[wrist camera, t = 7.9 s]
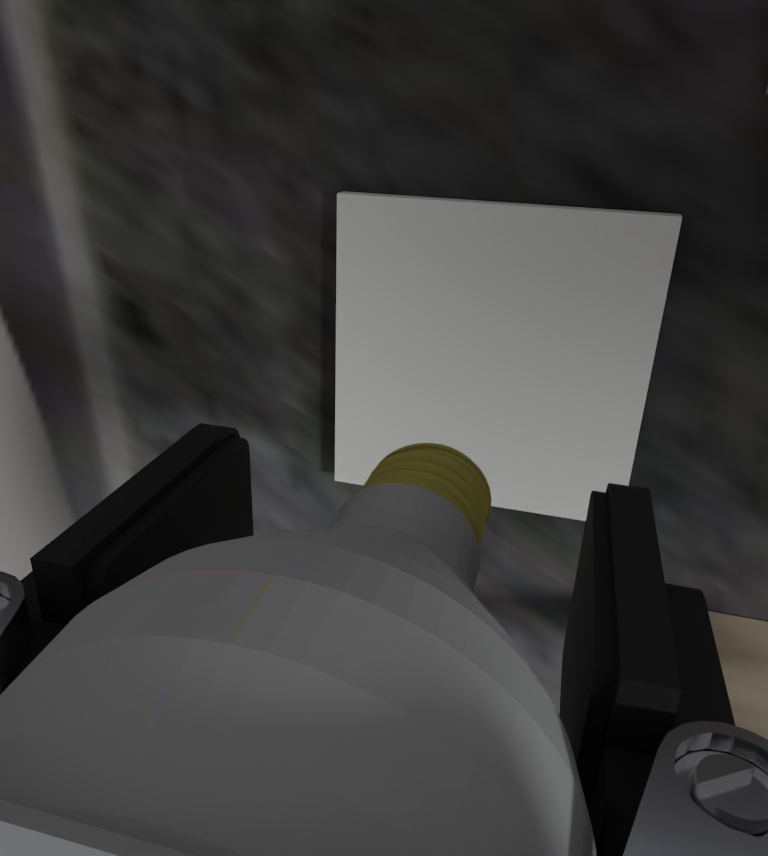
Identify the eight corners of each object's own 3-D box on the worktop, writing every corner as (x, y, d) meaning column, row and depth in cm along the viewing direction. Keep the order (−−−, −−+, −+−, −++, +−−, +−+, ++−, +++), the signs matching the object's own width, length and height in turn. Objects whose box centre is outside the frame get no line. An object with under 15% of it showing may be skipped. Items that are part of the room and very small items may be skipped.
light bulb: (244, 383, 13) (-493, 959, 4) (536, 286, 11) (324, 1001, 2) (356, 625, 15) (-5, 1419, 6) (630, 580, 13) (729, 1693, 4)
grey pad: (679, 213, 16) (682, 216, 16) (619, 517, 20) (620, 526, 19) (343, 191, 18) (337, 193, 18) (340, 473, 21) (334, 480, 21)
